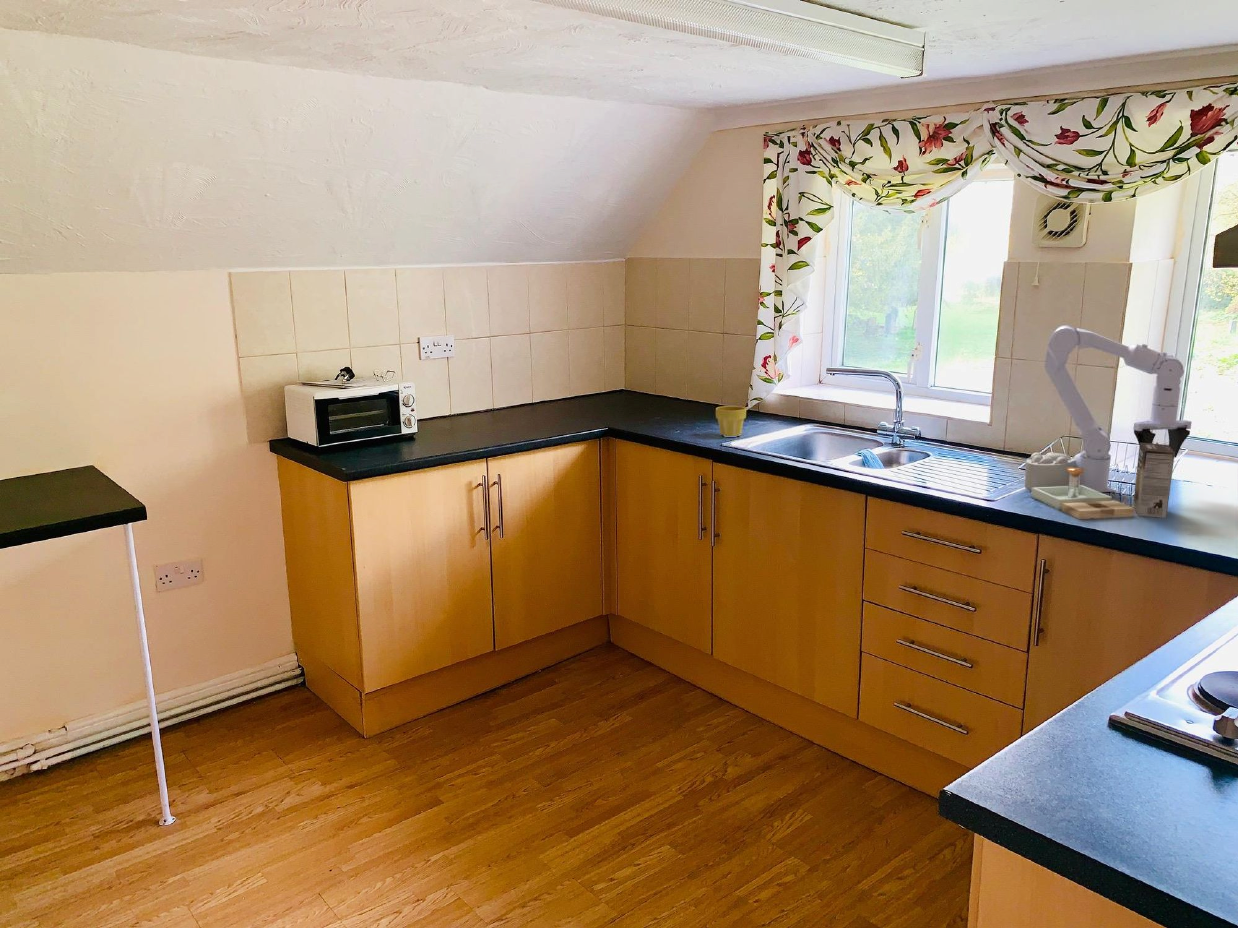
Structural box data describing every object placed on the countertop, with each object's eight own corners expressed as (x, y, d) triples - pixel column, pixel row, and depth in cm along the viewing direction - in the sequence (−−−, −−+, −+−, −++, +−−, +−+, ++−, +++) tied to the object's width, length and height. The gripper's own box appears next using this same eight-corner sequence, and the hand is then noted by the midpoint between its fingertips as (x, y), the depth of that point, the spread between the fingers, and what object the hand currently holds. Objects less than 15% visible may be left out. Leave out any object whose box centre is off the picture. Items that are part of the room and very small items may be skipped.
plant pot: (710, 434, 327) (710, 406, 325) (738, 432, 330) (738, 404, 328) (722, 440, 318) (723, 411, 315) (750, 437, 321) (751, 409, 318)
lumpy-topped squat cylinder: (1079, 486, 251) (1081, 454, 249) (1049, 494, 245) (1050, 461, 243) (1044, 479, 260) (1046, 448, 258) (1014, 487, 253) (1015, 455, 252)
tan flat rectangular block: (1061, 511, 229) (1062, 503, 229) (1114, 508, 231) (1115, 500, 231) (1079, 519, 223) (1080, 511, 222) (1133, 516, 225) (1134, 508, 224)
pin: (1070, 502, 235) (1073, 471, 233) (1060, 498, 239) (1063, 467, 237) (1084, 501, 236) (1088, 470, 234) (1074, 497, 239) (1078, 467, 238)
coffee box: (1131, 506, 233) (1139, 442, 230) (1161, 508, 231) (1169, 444, 227) (1136, 515, 225) (1144, 449, 221) (1167, 518, 223) (1175, 451, 219)
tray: (1030, 497, 242) (1031, 487, 242) (1081, 494, 244) (1082, 485, 244) (1058, 509, 231) (1059, 499, 230) (1110, 506, 233) (1112, 497, 232)
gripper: (1149, 408, 233) (1143, 461, 236) (1202, 406, 235) (1195, 459, 238) (1130, 403, 240) (1124, 455, 243) (1182, 401, 242) (1176, 453, 245)
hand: (1158, 457), depth 241 cm, fingers open, 7 cm apart
